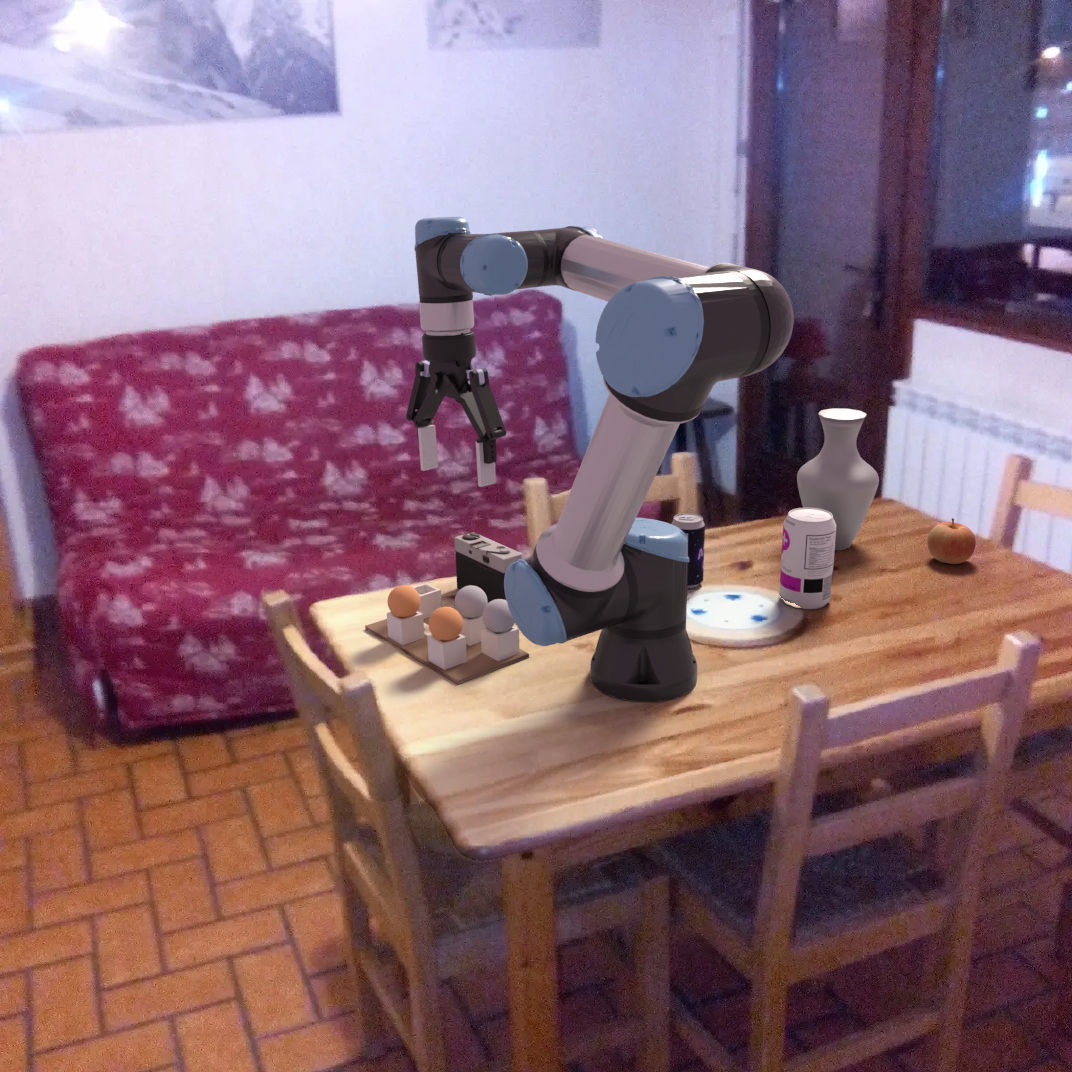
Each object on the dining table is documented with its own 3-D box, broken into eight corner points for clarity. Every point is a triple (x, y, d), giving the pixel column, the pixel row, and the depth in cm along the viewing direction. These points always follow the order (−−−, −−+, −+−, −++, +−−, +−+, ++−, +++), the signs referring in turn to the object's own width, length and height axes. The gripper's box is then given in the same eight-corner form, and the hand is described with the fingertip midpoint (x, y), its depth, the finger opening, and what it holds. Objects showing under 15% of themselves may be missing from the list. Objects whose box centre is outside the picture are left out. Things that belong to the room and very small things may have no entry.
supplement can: (774, 607, 183) (780, 519, 177) (784, 588, 190) (789, 504, 185) (825, 613, 180) (832, 525, 175) (833, 594, 187) (840, 509, 182)
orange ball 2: (470, 640, 163) (469, 608, 162) (442, 650, 160) (440, 618, 159) (450, 629, 167) (449, 598, 165) (422, 638, 164) (420, 607, 162)
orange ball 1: (428, 616, 171) (425, 585, 170) (400, 625, 168) (397, 594, 167) (410, 608, 175) (407, 578, 174) (382, 617, 172) (379, 586, 171)
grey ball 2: (523, 632, 166) (522, 600, 164) (496, 641, 163) (495, 610, 161) (502, 621, 169) (501, 590, 168) (476, 630, 166) (474, 599, 165)
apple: (921, 552, 204) (925, 511, 201) (967, 554, 203) (972, 512, 200) (929, 569, 197) (934, 526, 194) (977, 570, 196) (982, 527, 193)
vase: (887, 543, 209) (899, 411, 201) (848, 564, 199) (859, 427, 191) (818, 526, 219) (827, 400, 210) (778, 546, 209) (785, 414, 200)
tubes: (519, 653, 167) (518, 628, 166) (456, 677, 160) (455, 651, 159) (428, 605, 184) (426, 582, 183) (367, 624, 178) (366, 601, 176)
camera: (543, 601, 187) (542, 545, 183) (503, 614, 182) (501, 557, 179) (493, 577, 197) (491, 524, 194) (454, 589, 192) (452, 534, 189)
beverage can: (701, 591, 189) (704, 524, 185) (668, 589, 190) (669, 522, 186) (704, 578, 195) (706, 513, 190) (671, 576, 196) (672, 511, 192)
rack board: (529, 657, 167) (528, 651, 167) (457, 684, 159) (457, 678, 159) (433, 607, 185) (433, 602, 185) (365, 629, 178) (365, 624, 177)
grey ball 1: (494, 617, 171) (493, 587, 169) (468, 626, 168) (466, 595, 166) (475, 607, 174) (473, 577, 173) (448, 616, 172) (447, 586, 170)
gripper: (526, 334, 152) (533, 486, 159) (417, 321, 170) (426, 457, 176) (484, 342, 147) (492, 497, 154) (375, 327, 165) (387, 467, 172)
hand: (457, 476), depth 165 cm, fingers open, 13 cm apart
